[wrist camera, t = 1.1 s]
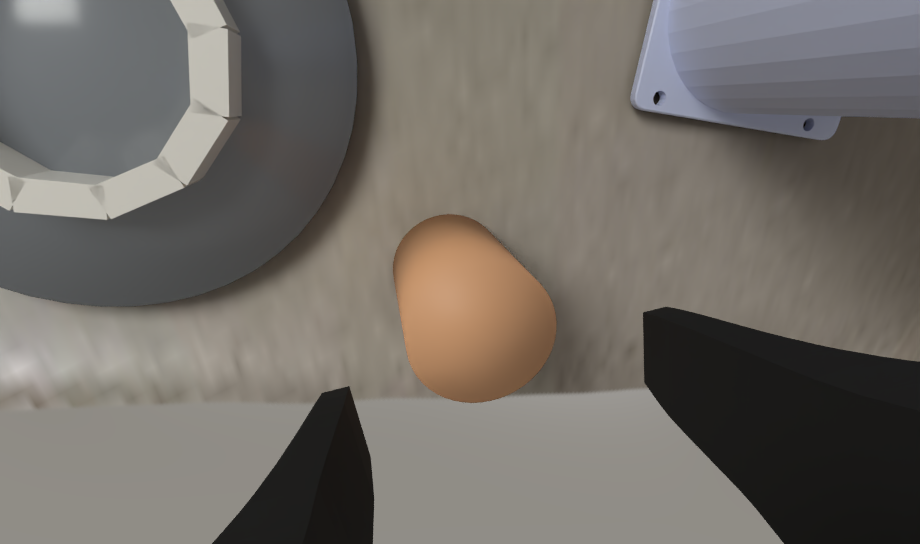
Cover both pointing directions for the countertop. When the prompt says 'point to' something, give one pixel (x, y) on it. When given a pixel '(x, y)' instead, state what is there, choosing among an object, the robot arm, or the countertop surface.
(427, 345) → the tan rounded block
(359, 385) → the countertop surface
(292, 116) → the tray
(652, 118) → the countertop surface
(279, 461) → the robot arm
